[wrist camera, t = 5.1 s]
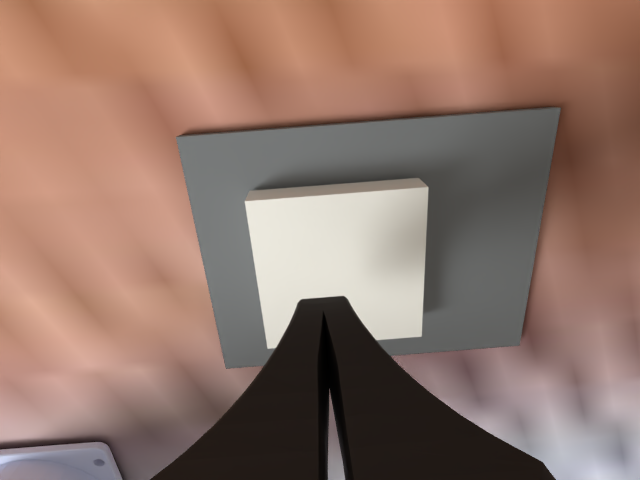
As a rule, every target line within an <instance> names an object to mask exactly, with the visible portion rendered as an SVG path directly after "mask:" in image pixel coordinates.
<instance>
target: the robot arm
mask: <svg viewBox="0 0 640 480" xmlns="http://www.w3.org/2000/svg"><path fill="white" fill-rule="evenodd" d="M329 388H330V393H331V399H332V404H333V410H334V416H335V421H336V427H337V432H338V438H339V443H340V449H341V454H342V460H343V466H344V473H345V480H556V479H555V478H554V477H553V475H552V474H551V473H550V472H549V470H548V469H547V468H546V466H545V465H544V463H543V462H541V461H539V460H538V459H536V458H534V457H532V456H530V455H528V454H526V453H525V452H523V451H521V450H519V449H517V448H515V447H514V446H512V445H510V444H508V443H506V442H504V441H502V440H501V439H499V438H497V437H495V436H493V435H492V434H490V433H488V432H487V431H485V430H483V429H482V428H480V427H479V426H477V425H475V424H474V423H472V422H471V421H469V420H467V419H466V418H464V417H463V416H461V415H460V414H458V413H457V412H456V411H454V410H453V409H451V408H450V407H449V406H447V405H446V404H445V403H443V402H442V401H440V400H439V399H438V398H436V397H435V396H434V395H432V394H431V393H430V392H429V391H427V390H426V389H425V388H424V387H423V386H421V385H420V384H419V383H418V382H417V381H416V380H414V379H413V378H412V377H411V376H410V375H409V374H408V373H407V372H406V371H405V370H403V369H402V368H401V367H400V366H399V365H398V364H397V363H396V362H395V361H394V360H393V359H392V357H391V356H390V355H389V354H388V353H387V352H386V351H385V350H384V349H383V348H382V347H381V345H380V344H379V343H378V342H377V341H376V339H375V338H374V337H373V336H372V334H371V333H370V332H369V331H368V329H367V328H366V327H365V326H364V324H363V323H362V321H361V320H360V319H359V317H358V316H357V314H356V313H355V311H354V309H353V308H352V306H351V304H350V302H349V300H348V299H347V298H346V297H345V296H335V297H322V298H309V299H301V300H300V301H299V302H298V303H297V306H296V309H295V312H294V314H293V316H292V319H291V321H290V323H289V325H288V327H287V329H286V331H285V332H284V334H283V336H282V338H281V340H280V342H279V343H278V345H277V347H276V348H275V350H274V351H273V353H272V355H271V356H270V358H269V359H268V361H267V362H266V364H265V365H264V367H263V368H262V370H261V371H260V372H259V374H258V375H257V377H256V378H255V379H254V381H253V382H252V383H251V384H250V386H249V387H248V388H247V389H246V391H245V392H244V393H243V394H242V395H241V397H240V398H239V399H238V400H237V401H236V402H235V403H234V404H233V406H232V407H231V408H230V409H229V410H228V411H227V412H226V413H225V414H224V415H223V416H222V418H221V419H220V420H219V421H218V422H217V423H216V424H215V425H214V426H213V427H212V428H211V429H209V430H208V431H207V432H206V433H205V434H204V435H203V436H202V437H201V438H200V439H199V440H198V441H196V442H195V443H194V444H193V445H192V446H191V447H190V448H189V449H188V450H187V451H186V452H184V453H183V454H182V455H181V456H180V457H178V458H177V459H176V460H175V461H174V462H172V463H171V464H170V465H168V466H167V467H166V468H165V469H163V470H162V471H161V472H159V473H158V474H157V475H156V476H154V477H153V478H152V479H150V480H328V465H327V464H328V426H329ZM0 480H123V479H122V477H121V475H120V472H119V470H118V467H117V465H116V463H115V460H114V458H113V455H112V453H111V451H110V448H109V447H108V445H106V444H105V443H102V442H89V443H76V444H64V445H51V446H39V447H26V448H14V449H1V450H0Z"/></svg>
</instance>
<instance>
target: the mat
mask: <svg viewBox="0 0 640 480" xmlns="http://www.w3.org/2000/svg"><path fill="white" fill-rule="evenodd" d="M560 110H561V108H559V107H545V108H532V109H518V110H505V111H492V112H479V113H466V114H453V115H440V116H427V117H414V118H401V119H387V120H374V121H361V122H348V123H335V124H322V125H309V126H296V127H283V128H270V129H256V130H243V131H230V132H217V133H204V134H191V135H179V136H177V137H176V139H177V144H178V149H179V153H180V158H181V163H182V167H183V172H184V176H185V181H186V186H187V190H188V195H189V200H190V204H191V209H192V214H193V218H194V223H195V228H196V232H197V237H198V241H199V246H200V251H201V255H202V260H203V265H204V269H205V274H206V279H207V283H208V288H209V293H210V297H211V302H212V306H213V311H214V316H215V320H216V325H217V330H218V334H219V339H220V344H221V348H222V353H223V358H224V362H225V367H226V369H229V368H242V367H254V366H264V365H265V364H266V362H267V361H268V359H269V358H270V356H271V355H272V353H273V351H274V350H275V348H271V349H268V348H267V342H266V336H265V329H264V323H263V316H262V310H261V303H260V297H259V290H258V284H257V278H256V271H255V265H254V258H253V252H252V245H251V239H250V232H249V226H248V220H247V213H246V207H245V200H246V197H247V195H248V193H249V191H253V190H266V189H279V188H292V187H305V186H318V185H331V184H344V183H357V182H370V181H383V180H396V179H409V178H419V179H420V180H421V181H423V182H424V183H425V184H426V185H427V186H428V209H427V230H426V252H425V274H424V296H423V318H422V337H410V338H398V339H385V340H376V341H377V342H378V343H379V344H380V345H381V347H382V348H383V349H384V350H385V351H386V352H387V353H388V354H389V355H390V356H394V355H406V354H419V353H432V352H444V351H457V350H470V349H482V348H495V347H508V346H519V345H520V340H521V334H522V328H523V322H524V317H525V311H526V305H527V299H528V294H529V288H530V282H531V276H532V271H533V265H534V259H535V253H536V248H537V242H538V236H539V230H540V225H541V219H542V213H543V207H544V202H545V196H546V190H547V184H548V179H549V173H550V167H551V161H552V156H553V150H554V144H555V138H556V133H557V127H558V121H559V115H560Z"/></svg>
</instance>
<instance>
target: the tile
mask: <svg viewBox="0 0 640 480" xmlns="http://www.w3.org/2000/svg"><path fill="white" fill-rule="evenodd" d="M245 207H246V213H247V220H248V226H249V232H250V239H251V245H252V252H253V258H254V265H255V271H256V278H257V284H258V290H259V297H260V303H261V310H262V316H263V323H264V329H265V336H266V342H267V348H268V349H271V348H276V347H277V345H278V343H279V342H280V340H281V338H282V336H283V334H284V332H285V331H286V329H287V327H288V325H289V323H290V321H291V319H292V316H293V314H294V312H295V309H296V306H297V303H298V302H299V301H300V300H301V299H309V298H322V297H335V296H345V297H346V298H347V299H348V300H349V302H350V304H351V306H352V308H353V309H354V311H355V313H356V314H357V316H358V317H359V319H360V320H361V321H362V323H363V324H364V326H365V327H366V328H367V329H368V331H369V332H370V333H371V334H372V336H373V337H374V338H375V339H376V340H385V339H398V338H410V337H422V318H423V296H424V274H425V252H426V230H427V209H428V186H427V185H426V184H425V183H424V182H423V181H421V180H420V179H419V178H409V179H396V180H383V181H370V182H357V183H344V184H331V185H318V186H305V187H292V188H279V189H266V190H253V191H249V193H248V195H247V197H246V200H245Z"/></svg>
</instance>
